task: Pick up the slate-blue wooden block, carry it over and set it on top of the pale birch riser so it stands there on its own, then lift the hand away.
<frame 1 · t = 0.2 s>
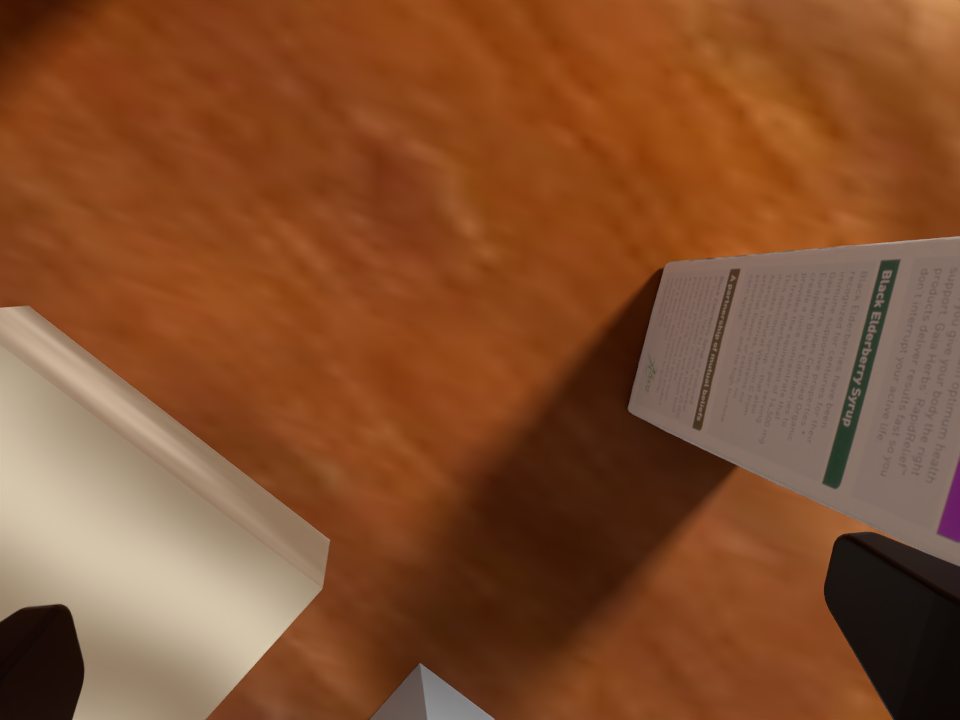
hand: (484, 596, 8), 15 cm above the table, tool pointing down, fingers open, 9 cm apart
birch riser: (68, 562, 22), on the table
syrup box: (709, 351, 24), on the table
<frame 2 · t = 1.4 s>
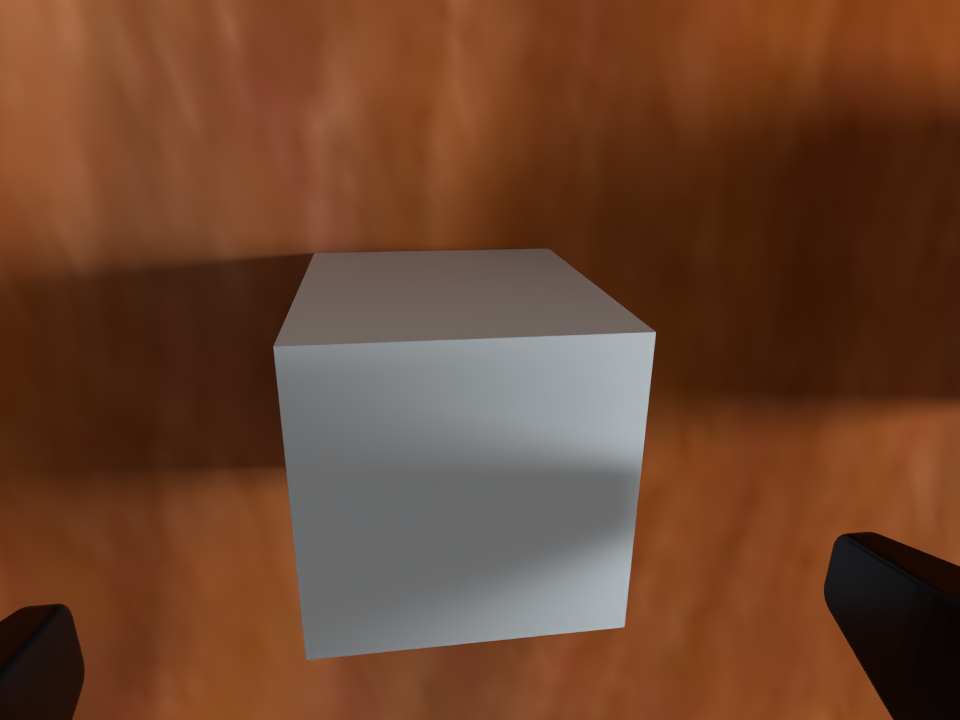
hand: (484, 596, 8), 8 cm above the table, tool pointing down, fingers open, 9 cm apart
slate block: (435, 359, 15), on the table
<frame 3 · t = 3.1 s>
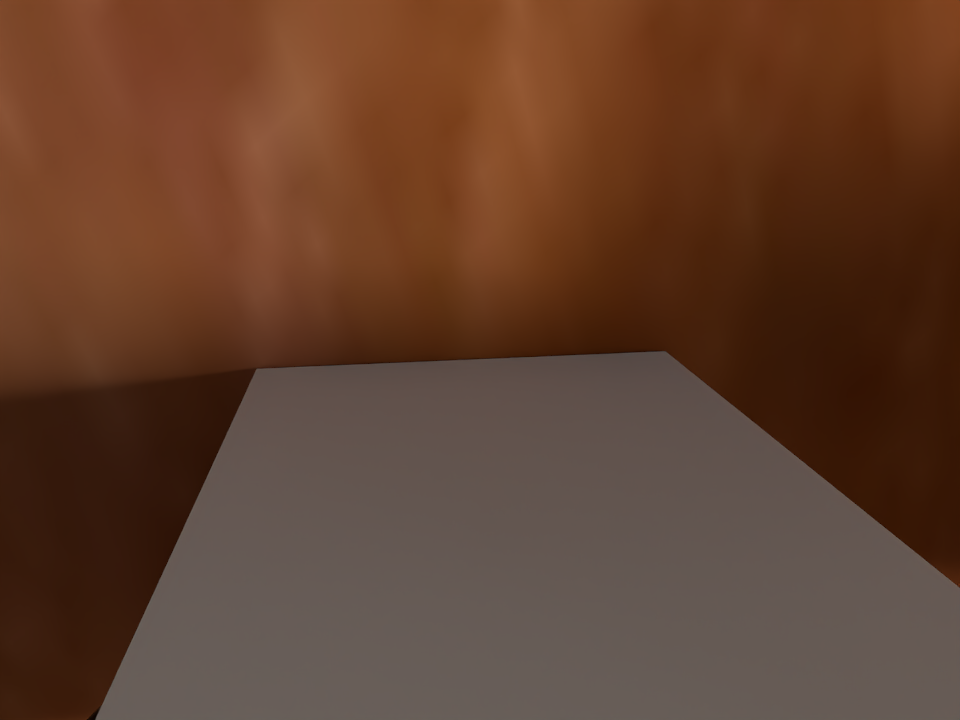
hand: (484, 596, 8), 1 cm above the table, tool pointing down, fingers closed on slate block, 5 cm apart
slate block: (469, 534, 9), on the table, touching gripper
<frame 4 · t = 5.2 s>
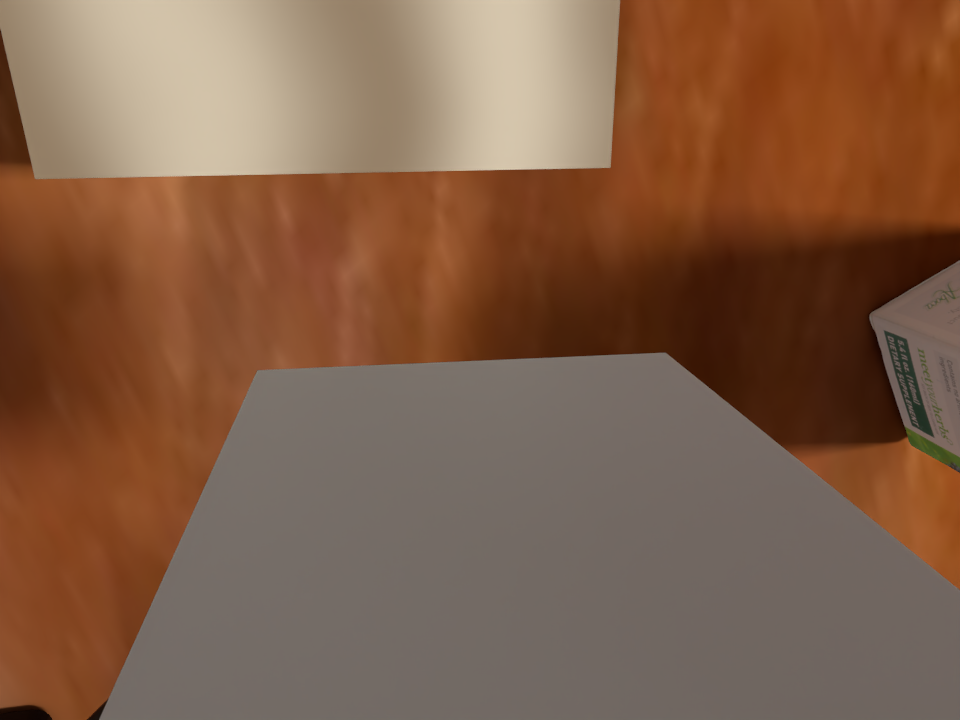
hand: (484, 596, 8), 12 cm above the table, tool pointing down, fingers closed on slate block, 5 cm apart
syrup box: (955, 335, 23), on the table
slate block: (469, 535, 9), point 11 cm above the table, touching gripper
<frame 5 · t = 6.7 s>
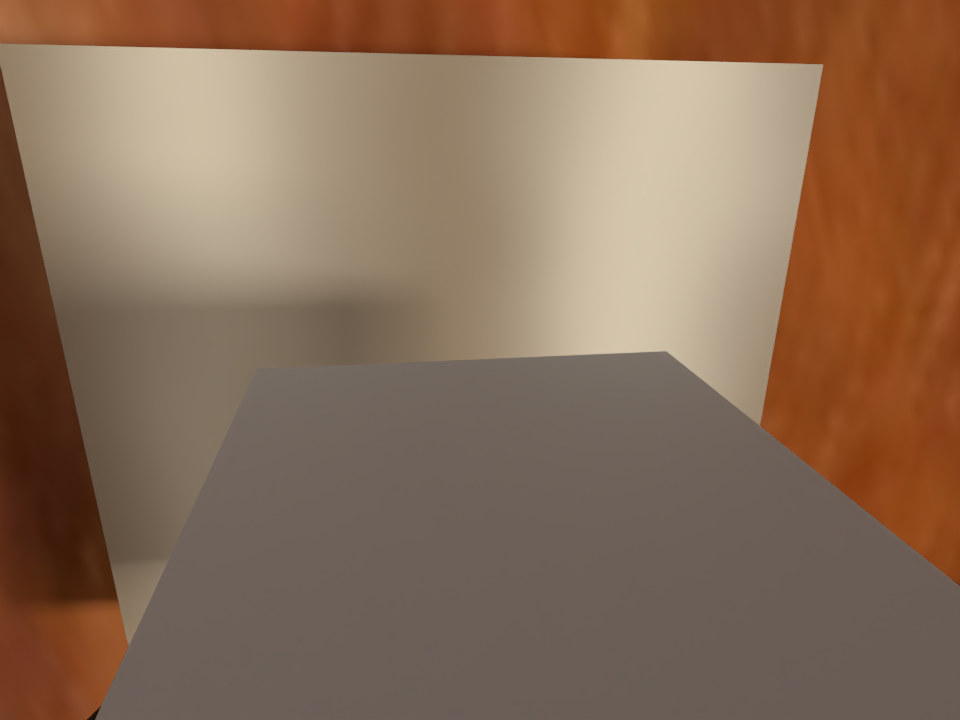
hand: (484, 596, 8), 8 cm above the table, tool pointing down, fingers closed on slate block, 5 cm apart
birch riser: (430, 351, 15), on the table
slate block: (469, 534, 9), point 7 cm above the table, touching gripper
when the fingers open (6 cm above the table, at t = 7.7 s): slate block drops 2 cm, resting on birch riser.
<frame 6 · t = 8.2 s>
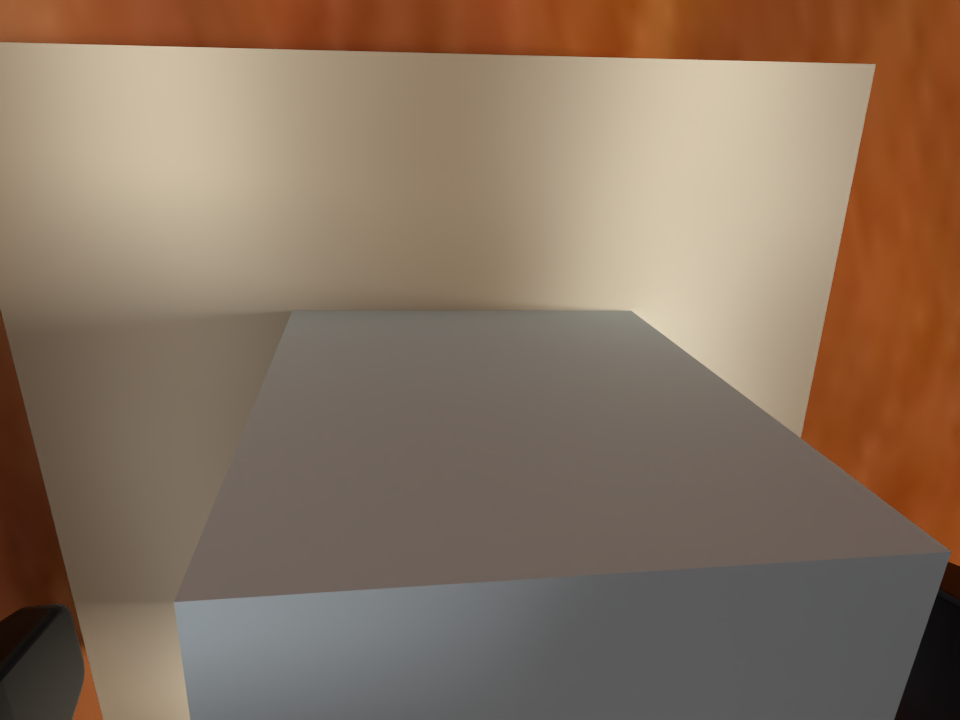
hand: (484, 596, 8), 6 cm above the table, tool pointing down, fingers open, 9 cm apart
birch riser: (432, 374, 14), on the table, touching slate block
slate block: (462, 461, 11), point 3 cm above the table, touching birch riser
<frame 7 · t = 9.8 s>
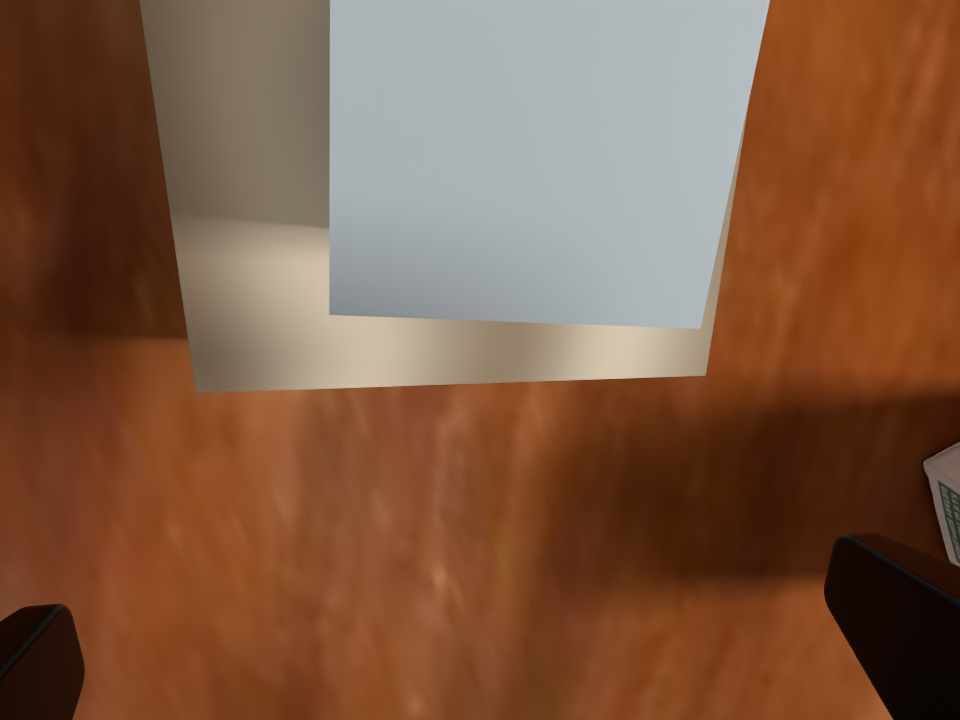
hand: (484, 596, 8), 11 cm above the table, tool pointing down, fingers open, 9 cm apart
birch riser: (449, 108, 17), on the table
slate block: (477, 113, 13), point 3 cm above the table
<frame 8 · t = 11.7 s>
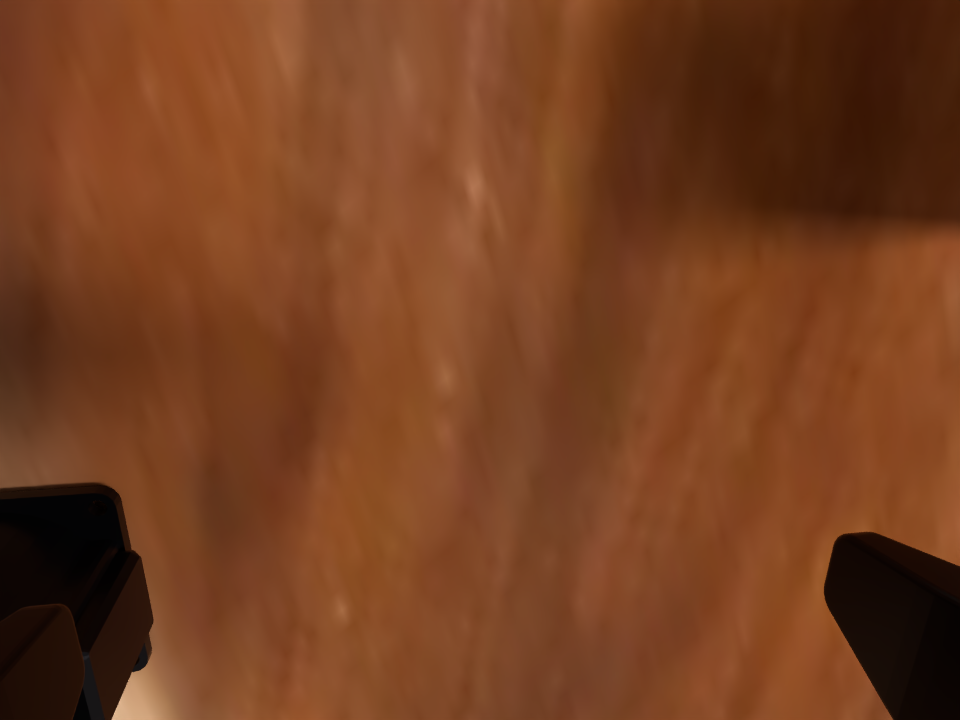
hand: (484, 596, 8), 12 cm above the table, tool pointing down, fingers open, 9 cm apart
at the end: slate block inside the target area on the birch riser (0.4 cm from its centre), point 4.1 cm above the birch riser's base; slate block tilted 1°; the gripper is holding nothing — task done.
